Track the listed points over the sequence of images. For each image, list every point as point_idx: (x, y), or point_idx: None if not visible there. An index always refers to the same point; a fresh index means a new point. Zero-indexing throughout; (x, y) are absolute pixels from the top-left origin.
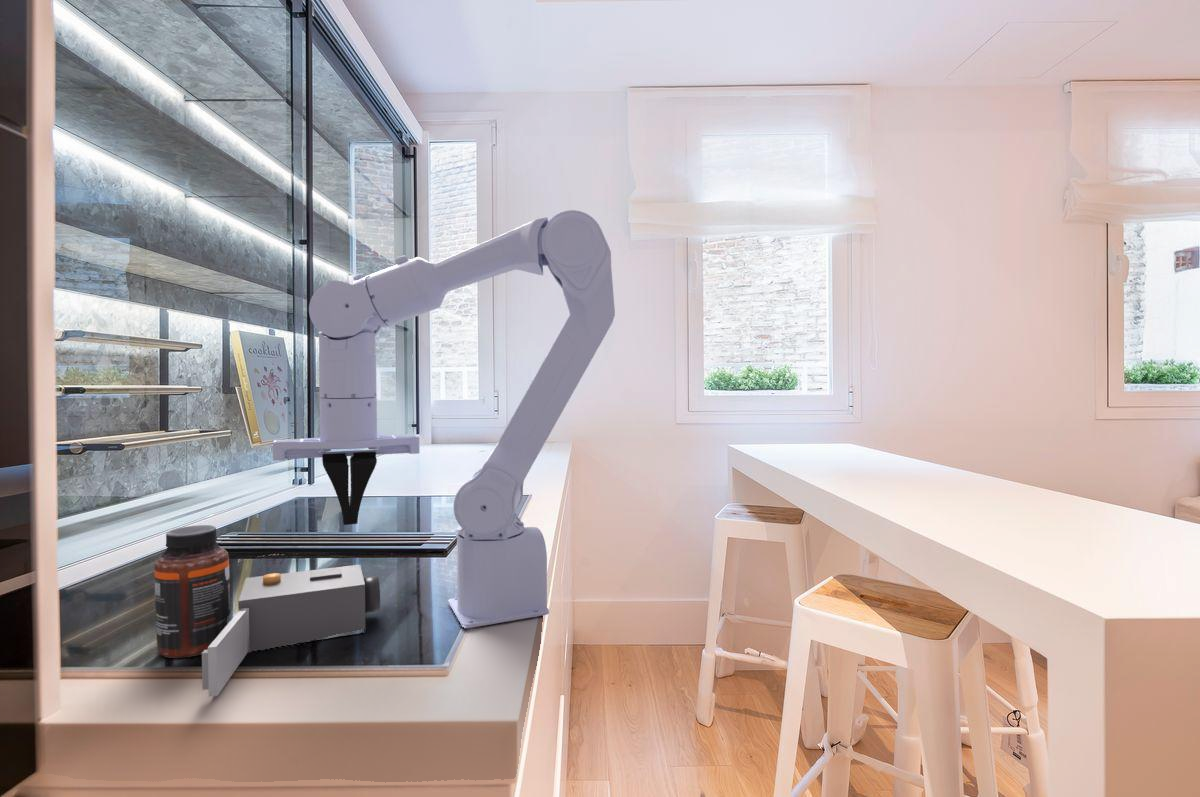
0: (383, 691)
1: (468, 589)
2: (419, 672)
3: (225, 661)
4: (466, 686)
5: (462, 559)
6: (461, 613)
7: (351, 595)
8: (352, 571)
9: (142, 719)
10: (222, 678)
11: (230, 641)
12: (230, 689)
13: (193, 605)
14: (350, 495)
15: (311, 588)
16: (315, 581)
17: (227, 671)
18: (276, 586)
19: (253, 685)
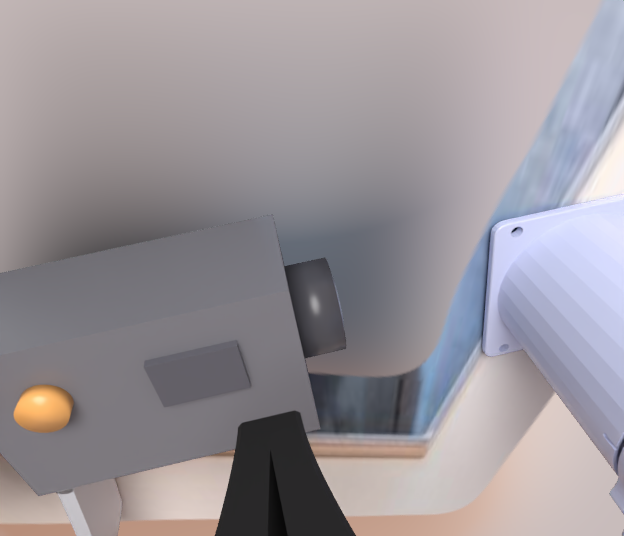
0: (341, 482)
1: (539, 370)
2: (389, 450)
3: (109, 515)
4: (440, 475)
5: (574, 414)
6: (499, 314)
7: None
8: (273, 347)
9: (44, 522)
10: (116, 505)
11: (100, 524)
12: (125, 476)
13: None
14: (286, 526)
15: (191, 444)
16: (184, 407)
17: (112, 492)
18: (85, 431)
19: (156, 469)
